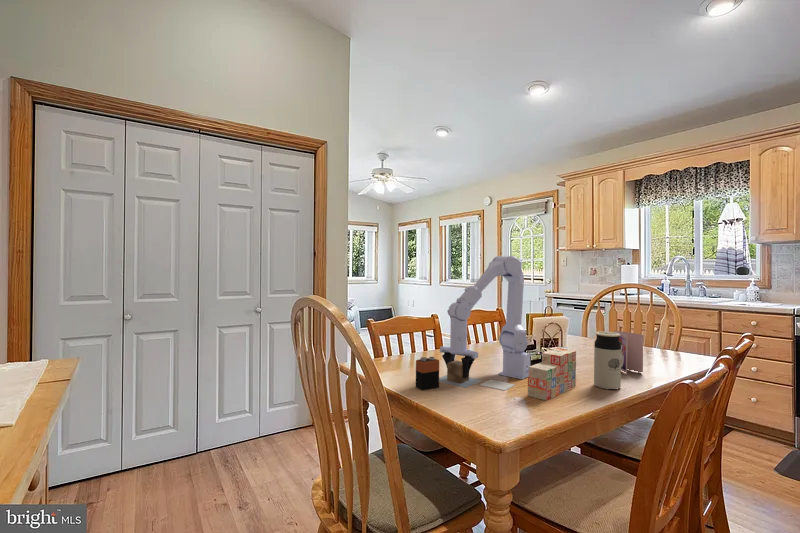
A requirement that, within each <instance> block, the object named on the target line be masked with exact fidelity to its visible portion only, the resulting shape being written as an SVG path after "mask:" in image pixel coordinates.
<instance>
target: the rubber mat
mask: <svg viewBox="0 0 800 533" xmlns="http://www.w3.org/2000/svg"><path fill="white" fill-rule="evenodd" d="M479 386H481V387H486V388H491V389H495V390H498V391H499V390H500V391H503V392H504V391H507V390H509V389H511V388H513V387H515V386H516V384H514V383H510V382H504V381H499V380H495V379H489V380H487V381H484V382H482V383H480V384H479Z"/></svg>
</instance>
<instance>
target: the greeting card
mask: <svg viewBox="0 0 800 533" xmlns="http://www.w3.org/2000/svg"><path fill="white" fill-rule="evenodd" d="M614 333H619V334H620V337H619V341H620V343H621V370H622V371H624V372H626V373H627V374H628V371H627V369H629V370H634V371H638V372H643V373H644V334H642V333H640V334H639V333H634V332H627V331H623V330H621V331H620V330H614Z"/></svg>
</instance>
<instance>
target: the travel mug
mask: <svg viewBox="0 0 800 533" xmlns="http://www.w3.org/2000/svg"><path fill="white" fill-rule="evenodd" d="M595 336H596V339H595V340H594V342H593V343H594V344H593V345H594V346H593V349H594V354H593V355H594V358H593V362H594V363H593V385H594V386H595V387H597V386H598V387H597V388H599V387H601V388H600V389H602V388H606V389H605V390H608V389H617V388H620V387H622V386H621V381H622V379H621V376H622V374H621V373H622V372H621V343H620V341H619V337H620V334H619V333H614V332H612V331H596V332H595ZM620 389H621V388H620ZM617 390H618V389H617Z"/></svg>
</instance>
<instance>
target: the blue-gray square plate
mask: <svg viewBox="0 0 800 533" xmlns="http://www.w3.org/2000/svg"><path fill="white" fill-rule="evenodd" d="M482 381H484V379H479V378H474V377H471V376H469V380H468V381H465V382H463V383H457V382H453V381H448V380H447V374H446V375H444V376H441V377H440V376H439V383H442V384H443V383H444V384H447V385H451V386H455V387H459V388H463V389H466V388H468V387H471V386H473V385H475V384H477V383H480V382H482Z"/></svg>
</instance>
